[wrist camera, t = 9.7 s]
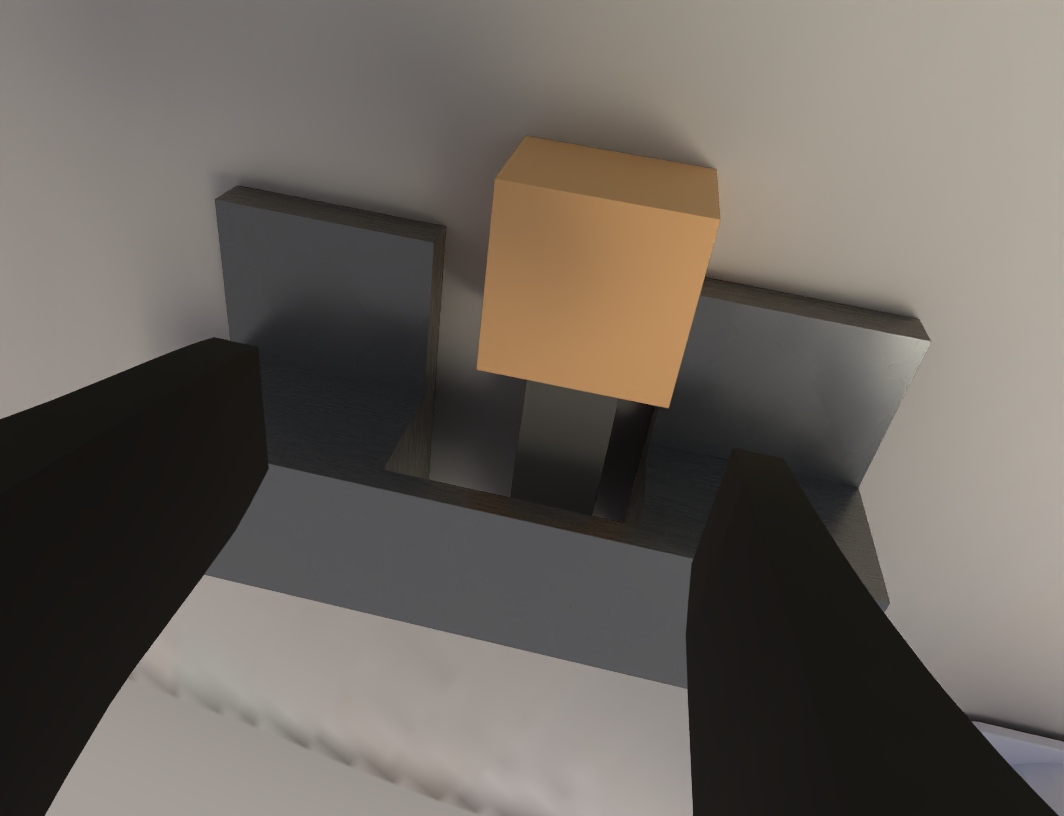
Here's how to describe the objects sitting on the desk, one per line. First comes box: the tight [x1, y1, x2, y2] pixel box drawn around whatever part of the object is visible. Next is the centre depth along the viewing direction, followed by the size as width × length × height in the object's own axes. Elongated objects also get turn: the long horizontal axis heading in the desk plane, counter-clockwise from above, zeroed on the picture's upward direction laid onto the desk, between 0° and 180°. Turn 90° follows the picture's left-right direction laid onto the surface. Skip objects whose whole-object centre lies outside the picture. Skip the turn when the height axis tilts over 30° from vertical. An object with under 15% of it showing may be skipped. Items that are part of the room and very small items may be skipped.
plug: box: [477, 136, 720, 516], centre depth 18 cm, size 11×4×3 cm, turn 173°
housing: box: [204, 186, 931, 689], centre depth 19 cm, size 12×16×5 cm
